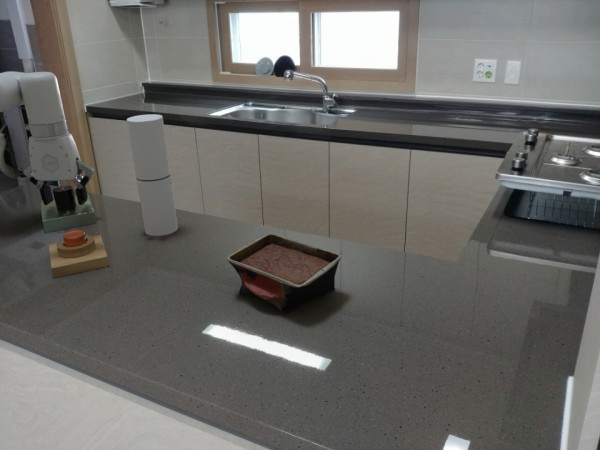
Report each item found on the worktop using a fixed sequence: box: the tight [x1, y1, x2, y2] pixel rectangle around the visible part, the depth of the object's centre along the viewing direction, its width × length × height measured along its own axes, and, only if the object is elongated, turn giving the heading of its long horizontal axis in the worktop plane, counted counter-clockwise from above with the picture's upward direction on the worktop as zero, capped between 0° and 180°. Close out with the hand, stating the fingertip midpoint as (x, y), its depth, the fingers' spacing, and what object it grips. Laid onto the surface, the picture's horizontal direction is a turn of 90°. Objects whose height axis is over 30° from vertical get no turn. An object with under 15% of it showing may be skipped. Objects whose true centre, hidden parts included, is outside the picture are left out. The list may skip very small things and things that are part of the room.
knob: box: [52, 185, 76, 210], centre depth 126 cm, size 4×4×5 cm
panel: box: [40, 193, 97, 234], centre depth 128 cm, size 14×11×3 cm
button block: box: [48, 233, 110, 279], centre depth 106 cm, size 12×10×4 cm
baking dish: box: [226, 233, 342, 315], centre depth 91 cm, size 14×18×10 cm
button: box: [62, 229, 86, 247], centre depth 105 cm, size 4×4×2 cm
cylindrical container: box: [126, 113, 179, 237], centre depth 115 cm, size 7×7×25 cm
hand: (65, 202), depth 127 cm, fingers open, 7 cm apart
